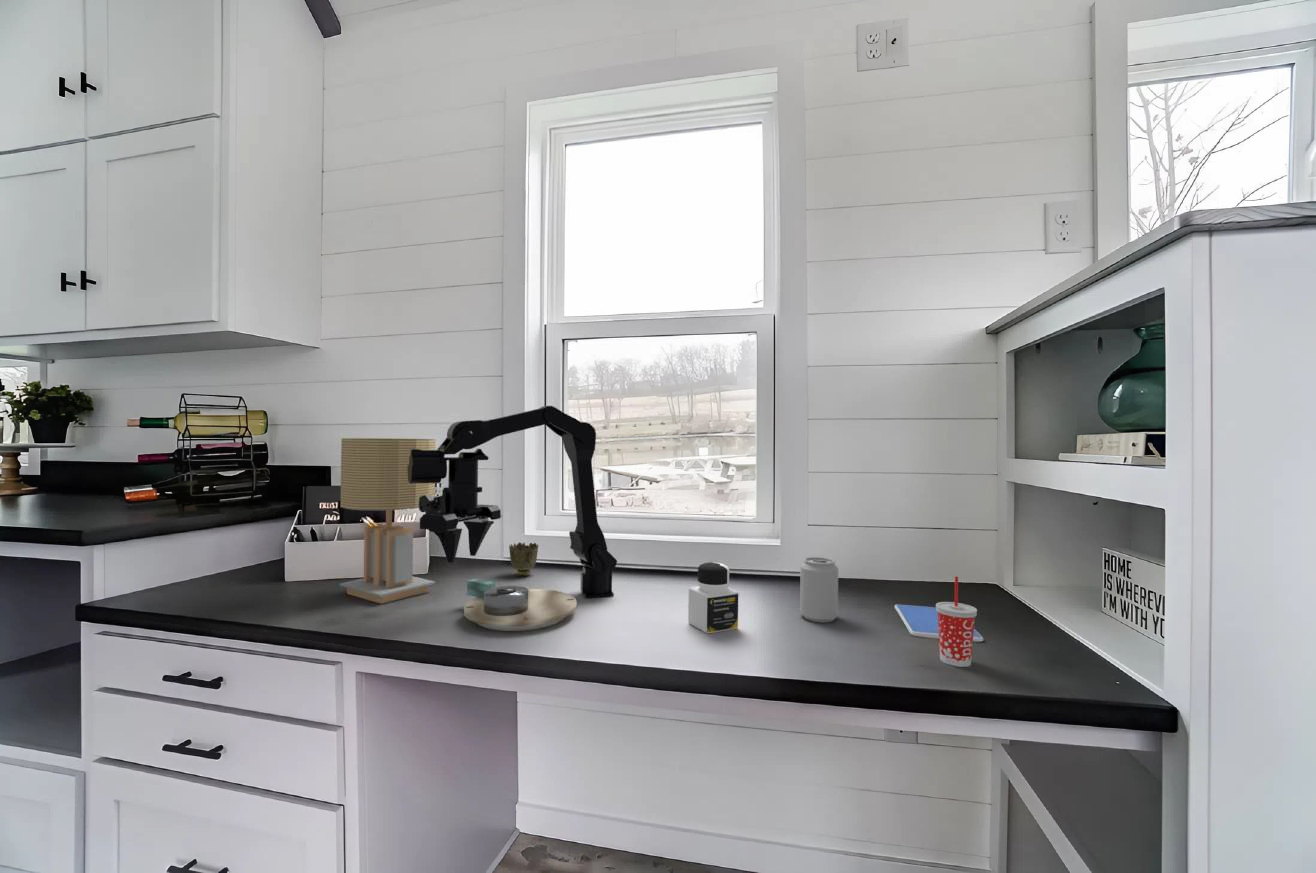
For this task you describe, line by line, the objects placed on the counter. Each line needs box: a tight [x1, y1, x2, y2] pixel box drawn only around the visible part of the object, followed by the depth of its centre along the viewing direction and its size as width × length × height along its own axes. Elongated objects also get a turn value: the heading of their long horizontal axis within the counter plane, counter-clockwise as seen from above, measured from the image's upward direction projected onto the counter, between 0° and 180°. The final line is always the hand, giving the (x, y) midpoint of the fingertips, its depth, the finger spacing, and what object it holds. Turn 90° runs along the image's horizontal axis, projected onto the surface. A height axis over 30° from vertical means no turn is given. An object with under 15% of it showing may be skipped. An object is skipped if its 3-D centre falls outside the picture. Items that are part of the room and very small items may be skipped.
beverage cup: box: [935, 576, 978, 668], centre depth 94 cm, size 6×6×14 cm
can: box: [799, 556, 839, 623], centre depth 116 cm, size 8×8×12 cm
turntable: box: [463, 578, 578, 626], centre depth 115 cm, size 22×22×4 cm
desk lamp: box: [339, 437, 436, 605], centre depth 130 cm, size 20×20×35 cm
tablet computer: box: [894, 603, 984, 643], centre depth 114 cm, size 19×13×1 cm, turn 166°
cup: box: [508, 541, 539, 577], centre depth 148 cm, size 8×7×8 cm
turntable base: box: [476, 618, 565, 632], centre depth 115 cm, size 18×18×1 cm
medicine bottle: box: [687, 561, 739, 635], centre depth 110 cm, size 7×7×12 cm
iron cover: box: [484, 585, 529, 616], centre depth 111 cm, size 8×8×4 cm
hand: (462, 558), depth 116 cm, fingers open, 7 cm apart
